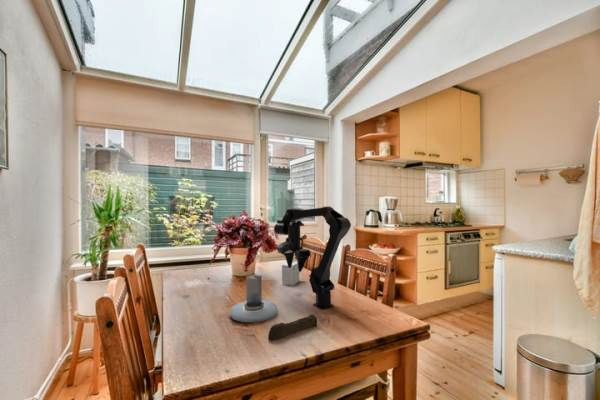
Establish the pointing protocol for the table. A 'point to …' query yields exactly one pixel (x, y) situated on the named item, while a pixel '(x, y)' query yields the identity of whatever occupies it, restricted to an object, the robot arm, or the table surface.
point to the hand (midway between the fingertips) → (294, 269)
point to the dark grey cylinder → (253, 293)
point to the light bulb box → (290, 274)
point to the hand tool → (291, 327)
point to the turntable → (253, 312)
